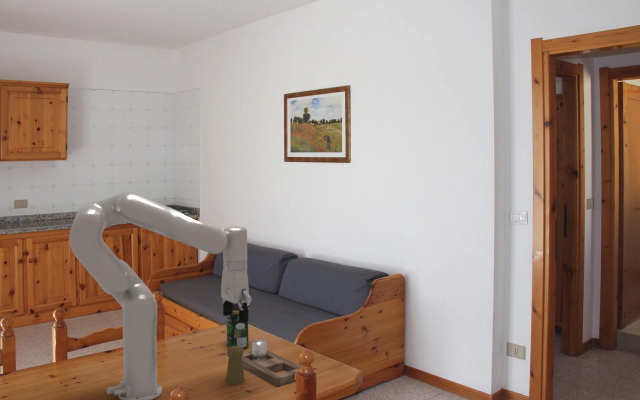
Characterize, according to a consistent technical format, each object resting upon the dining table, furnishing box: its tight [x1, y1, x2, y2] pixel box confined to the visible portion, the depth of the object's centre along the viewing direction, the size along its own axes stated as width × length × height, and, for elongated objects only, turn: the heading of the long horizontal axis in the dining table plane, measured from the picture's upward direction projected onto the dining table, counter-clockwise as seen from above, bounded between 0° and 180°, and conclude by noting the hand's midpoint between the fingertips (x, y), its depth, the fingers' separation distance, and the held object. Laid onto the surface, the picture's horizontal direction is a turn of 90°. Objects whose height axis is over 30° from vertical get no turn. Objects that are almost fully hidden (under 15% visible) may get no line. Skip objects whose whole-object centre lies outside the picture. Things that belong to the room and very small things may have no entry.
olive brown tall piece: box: [225, 346, 245, 385], centre depth 176 cm, size 6×6×11 cm
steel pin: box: [251, 338, 268, 362], centre depth 190 cm, size 5×5×8 cm
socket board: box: [242, 349, 301, 387], centre depth 186 cm, size 13×27×2 cm, turn 39°
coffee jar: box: [226, 302, 249, 349], centre depth 209 cm, size 10×8×19 cm
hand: (235, 318), depth 175 cm, fingers open, 9 cm apart
